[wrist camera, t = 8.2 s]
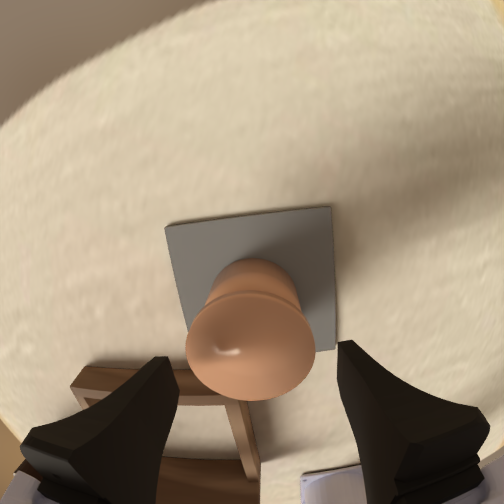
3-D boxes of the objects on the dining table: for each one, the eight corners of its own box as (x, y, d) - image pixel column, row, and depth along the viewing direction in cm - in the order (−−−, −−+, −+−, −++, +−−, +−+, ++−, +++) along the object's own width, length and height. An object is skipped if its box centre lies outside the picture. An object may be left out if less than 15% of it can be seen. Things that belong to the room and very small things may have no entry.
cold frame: (260, 463, 25) (259, 518, 18) (137, 457, 26) (121, 504, 19) (239, 367, 21) (231, 440, 14) (84, 366, 22) (47, 417, 15)
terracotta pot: (299, 337, 20) (310, 398, 14) (211, 338, 20) (195, 399, 14) (301, 252, 18) (319, 295, 12) (201, 255, 18) (176, 298, 12)
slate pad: (334, 346, 20) (335, 349, 20) (197, 359, 21) (196, 362, 21) (329, 206, 17) (330, 207, 17) (166, 226, 18) (164, 227, 18)
